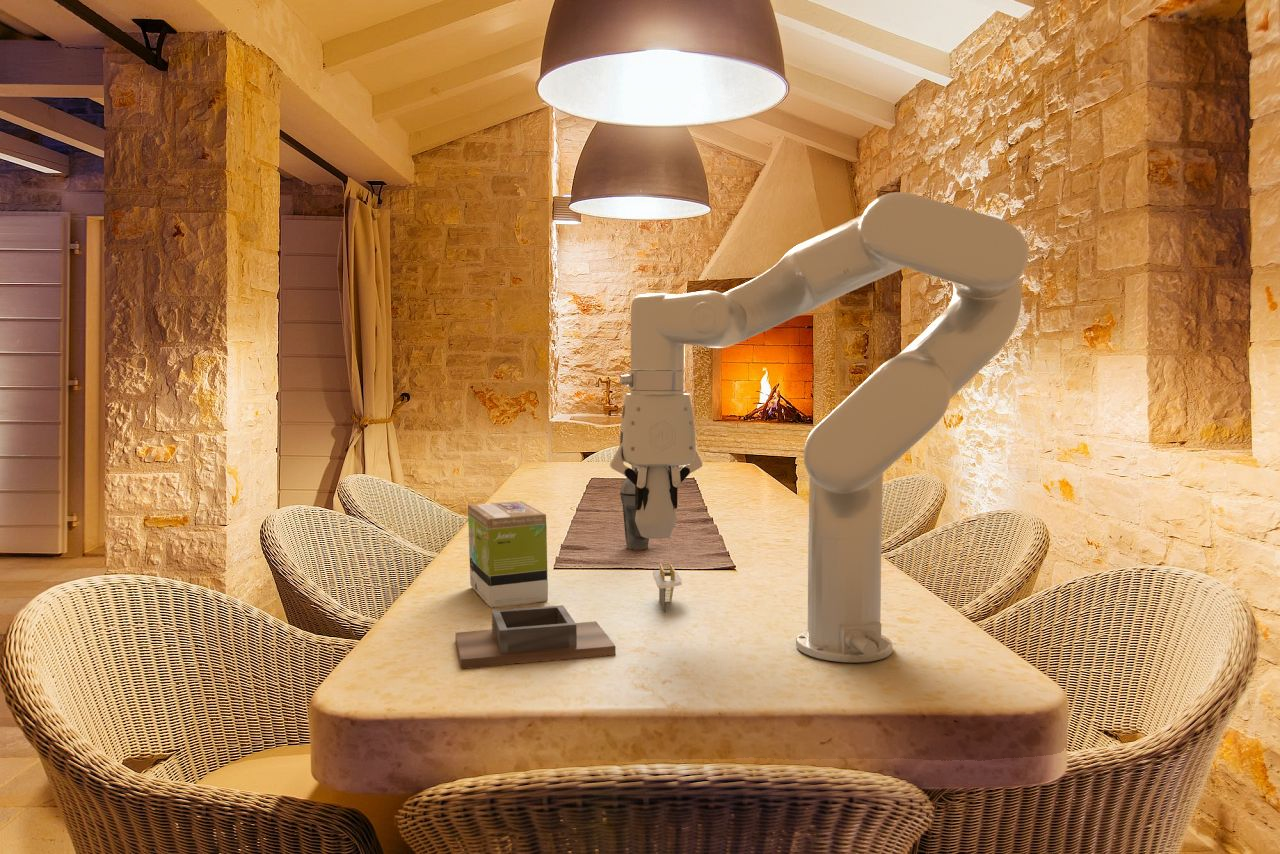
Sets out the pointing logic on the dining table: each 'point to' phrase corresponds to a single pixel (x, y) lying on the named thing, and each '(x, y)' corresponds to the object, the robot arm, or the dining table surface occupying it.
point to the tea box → (508, 553)
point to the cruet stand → (532, 638)
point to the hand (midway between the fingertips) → (656, 513)
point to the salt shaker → (657, 506)
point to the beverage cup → (631, 517)
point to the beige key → (666, 583)
